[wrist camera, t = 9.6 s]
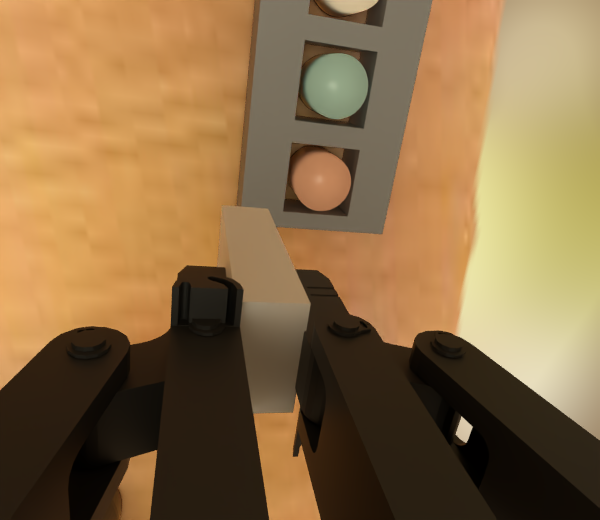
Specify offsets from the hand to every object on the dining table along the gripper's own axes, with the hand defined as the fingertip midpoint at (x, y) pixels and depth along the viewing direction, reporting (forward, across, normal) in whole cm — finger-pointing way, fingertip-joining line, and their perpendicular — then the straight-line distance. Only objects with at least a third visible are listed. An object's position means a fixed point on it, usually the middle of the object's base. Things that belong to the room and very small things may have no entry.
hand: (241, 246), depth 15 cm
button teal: (+24, +8, +5) cm, 25 cm away
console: (+24, +8, +5) cm, 26 cm away
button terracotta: (+24, +8, -2) cm, 25 cm away
